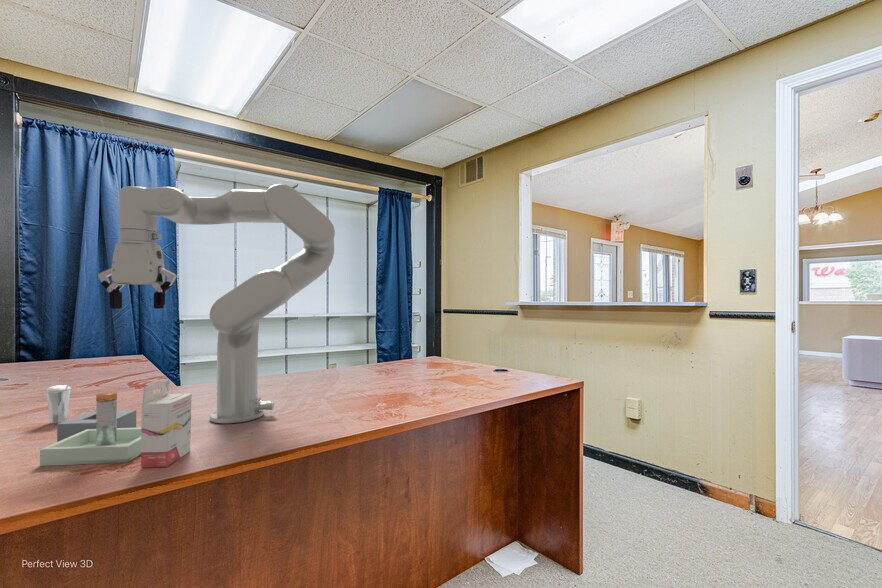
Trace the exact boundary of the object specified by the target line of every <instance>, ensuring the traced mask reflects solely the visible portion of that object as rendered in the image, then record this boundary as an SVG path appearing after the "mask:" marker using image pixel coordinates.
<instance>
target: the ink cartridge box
mask: <svg viewBox="0 0 882 588" xmlns="http://www.w3.org/2000/svg"><path fill="white" fill-rule="evenodd" d="M169 387H170V379H165V380H161V381H159V382H155V383H152V384H150V385H147V386H145V387H143V388H144V389H143V394H142V403H141V426H140V427H141V454H140V467H141V468H167V467H169V466H171V465H172V464H174V463H175V462H176V461H178V460H180V459H181V458H182V457H183V456H185V455H187V454H188V453H190V451H191V440H192V439H191V437H192V436H191V435H192V426H191V425H192V396H193V393H169ZM157 388H158V389H160V390H159V391H156V392H154V391H155V390H156V389H157Z"/></svg>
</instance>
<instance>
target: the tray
mask: <svg viewBox="0 0 882 588" xmlns="http://www.w3.org/2000/svg"><path fill="white" fill-rule="evenodd" d="M141 427H142V426H139V427H135V428H117V445H104V446H96V429H86V430H84V431H82V432H79V433H77V434H75V435H73V436H70V437H68V438H66V439H63V440H61V441H59V442H57V441H56V442H55V443H52V444H50V445H48V446H45V447H43V448H40V449H39V467H42V466H44V467H46V466H47V467H48V466H68V465H69V466H70V465H71V466H73V465H74V466H75V465H94V464H95V465H96V464H117V463H119V464H122V463H124V464H125V463H129V462H131V461H133V460H134V459H135V458H137V457H139V456H141Z"/></svg>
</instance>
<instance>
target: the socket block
mask: <svg viewBox="0 0 882 588" xmlns="http://www.w3.org/2000/svg"><path fill="white" fill-rule="evenodd" d="M56 426H57V427H56V429H57V430H56V431H57V433H56V434H57V435H56V436H57V437H56V440H57V441H56V442H59V441H61V440H63V439H66V438H68V437H70V436H73V435H75V434H77V433H79V432H82V431H84V430H86V429H96V410H95V411H93V410H92V411H91V410H90V411H89V412H88V411H87V412H85V413H83V414H80V415H77V416H75V417H72V418H69V419H67V421H64V422H61V423H58V424H57V425H56ZM117 428H137V410H136V409H127V410H124V409H122V410H117Z"/></svg>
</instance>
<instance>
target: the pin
mask: <svg viewBox="0 0 882 588" xmlns="http://www.w3.org/2000/svg"><path fill="white" fill-rule="evenodd" d="M95 398H96V399H95V401H96V403H95V404H96V405H95V406H96V408H95V409H96V410H95V411H96V446H104V445H117V411H118V406H117V405H118V392H113V391H112V392H103V393H98V394H96V397H95Z"/></svg>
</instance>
